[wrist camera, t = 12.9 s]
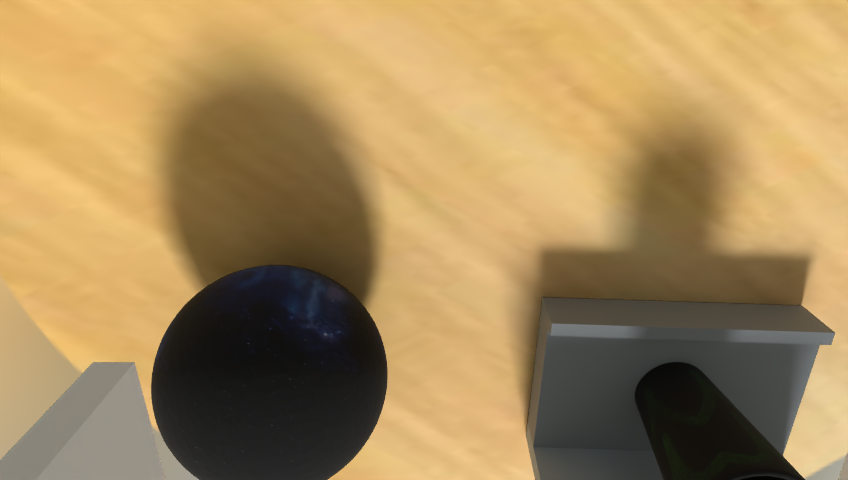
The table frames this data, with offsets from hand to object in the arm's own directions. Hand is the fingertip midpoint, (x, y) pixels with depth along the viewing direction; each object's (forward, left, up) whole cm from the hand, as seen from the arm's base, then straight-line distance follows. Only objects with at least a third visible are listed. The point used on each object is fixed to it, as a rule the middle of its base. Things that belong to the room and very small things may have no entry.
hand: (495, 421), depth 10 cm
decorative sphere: (+16, -11, -31) cm, 37 cm away
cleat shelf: (+20, +18, -31) cm, 41 cm away
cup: (+20, +18, -28) cm, 39 cm away
